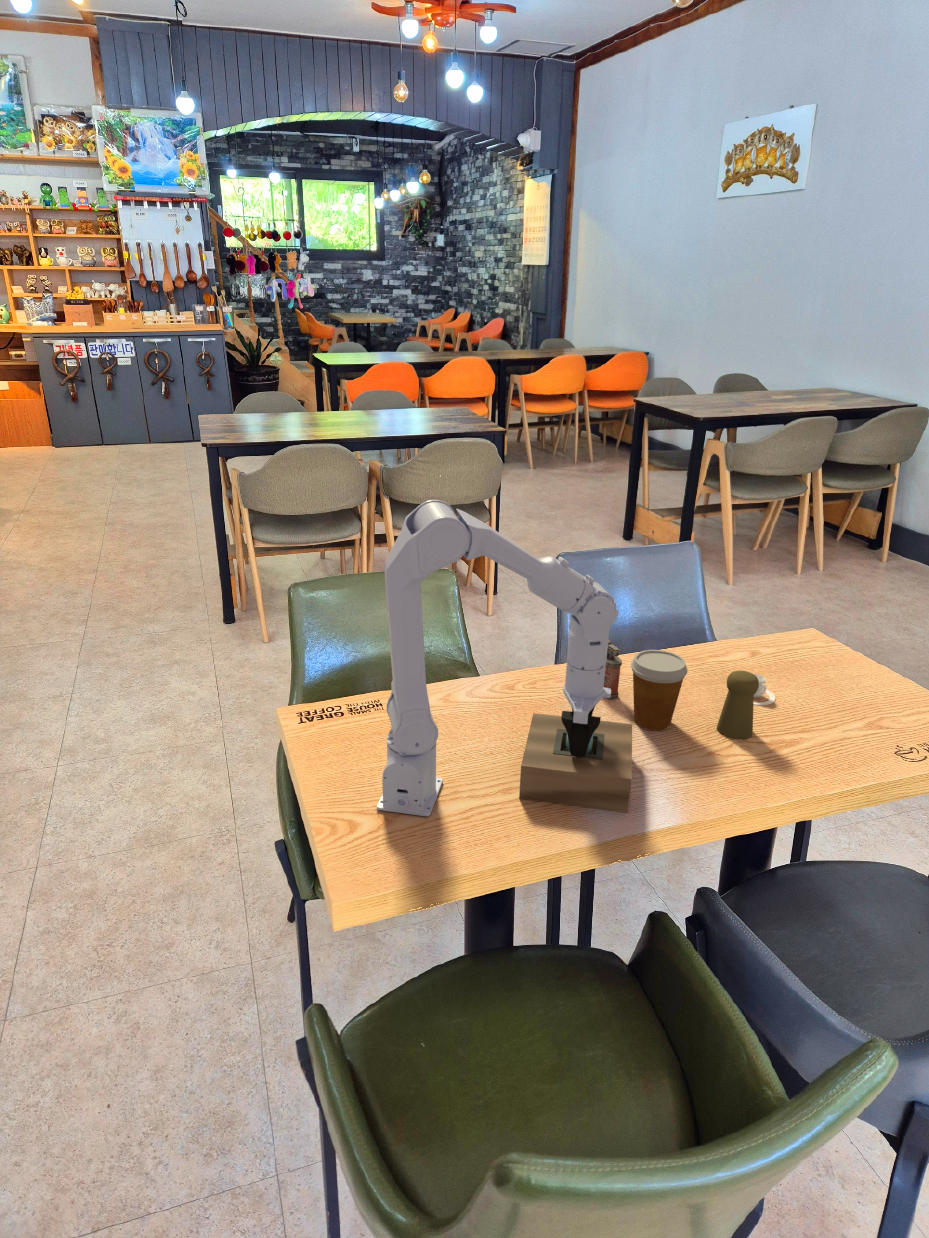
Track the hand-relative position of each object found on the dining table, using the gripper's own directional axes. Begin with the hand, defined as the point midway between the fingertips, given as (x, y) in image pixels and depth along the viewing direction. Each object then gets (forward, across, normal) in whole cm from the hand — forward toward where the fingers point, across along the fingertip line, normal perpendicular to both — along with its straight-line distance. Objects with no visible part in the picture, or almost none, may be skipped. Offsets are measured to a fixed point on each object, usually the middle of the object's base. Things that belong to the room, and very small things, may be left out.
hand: (579, 741), depth 127 cm
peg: (+3, 0, 0) cm, 3 cm away
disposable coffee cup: (+6, +20, -12) cm, 24 cm away
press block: (+6, 0, 0) cm, 6 cm away
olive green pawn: (+6, +20, -26) cm, 33 cm away
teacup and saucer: (+7, +37, -32) cm, 50 cm away
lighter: (+6, +30, -3) cm, 31 cm away
